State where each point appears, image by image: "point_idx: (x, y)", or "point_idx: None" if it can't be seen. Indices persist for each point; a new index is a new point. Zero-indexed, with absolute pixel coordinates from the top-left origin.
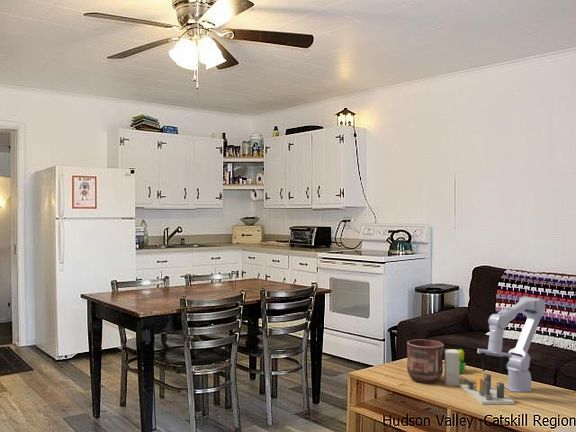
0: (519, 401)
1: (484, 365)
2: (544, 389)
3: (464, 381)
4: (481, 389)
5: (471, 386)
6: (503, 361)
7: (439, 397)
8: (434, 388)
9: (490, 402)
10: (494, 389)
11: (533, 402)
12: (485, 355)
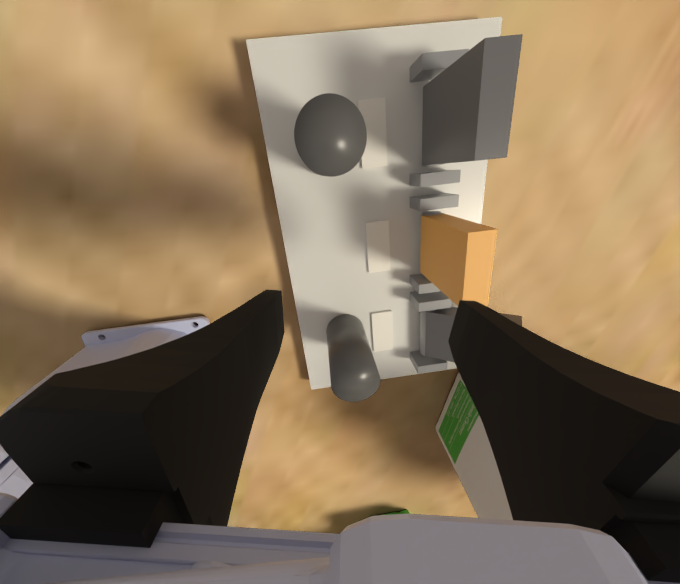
0: (196, 129)
1: (513, 326)
2: (8, 381)
3: (514, 315)
4: (438, 215)
5: (451, 307)
6: (207, 377)
7: (666, 175)
8: (594, 324)
9: (434, 25)
10: (312, 309)
11: (93, 111)
12: (652, 488)
